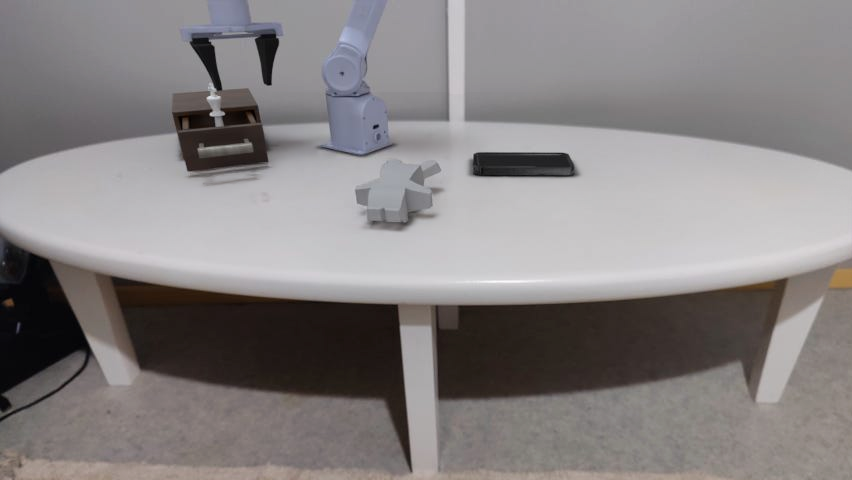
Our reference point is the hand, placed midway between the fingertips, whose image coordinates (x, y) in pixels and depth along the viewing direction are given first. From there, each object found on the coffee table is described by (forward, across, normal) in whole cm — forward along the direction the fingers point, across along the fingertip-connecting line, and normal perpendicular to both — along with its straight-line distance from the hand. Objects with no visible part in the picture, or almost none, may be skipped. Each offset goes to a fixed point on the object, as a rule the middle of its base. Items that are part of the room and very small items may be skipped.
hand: (243, 87), depth 90 cm
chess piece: (+8, -6, -6) cm, 12 cm away
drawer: (+9, -6, -6) cm, 12 cm away
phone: (+10, +30, -34) cm, 47 cm away
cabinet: (+10, -4, +6) cm, 12 cm away
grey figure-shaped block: (+10, +8, -37) cm, 39 cm away
